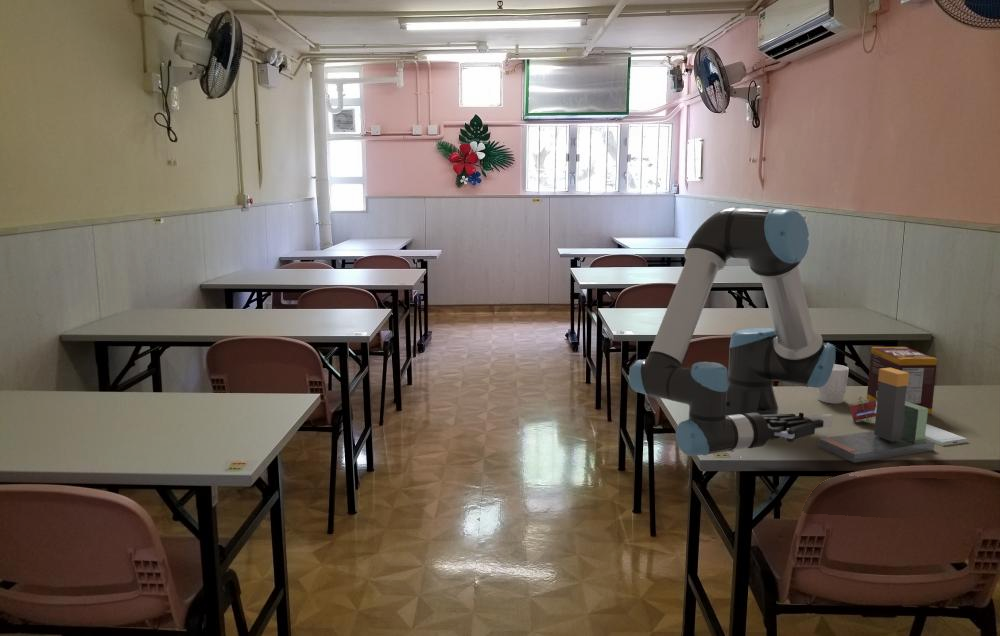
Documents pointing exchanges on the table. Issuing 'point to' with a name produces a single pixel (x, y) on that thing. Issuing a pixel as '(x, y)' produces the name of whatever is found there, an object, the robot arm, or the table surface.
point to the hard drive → (942, 436)
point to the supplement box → (907, 361)
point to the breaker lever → (891, 403)
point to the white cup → (834, 386)
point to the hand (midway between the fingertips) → (829, 420)
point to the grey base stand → (876, 447)
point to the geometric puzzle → (863, 410)
